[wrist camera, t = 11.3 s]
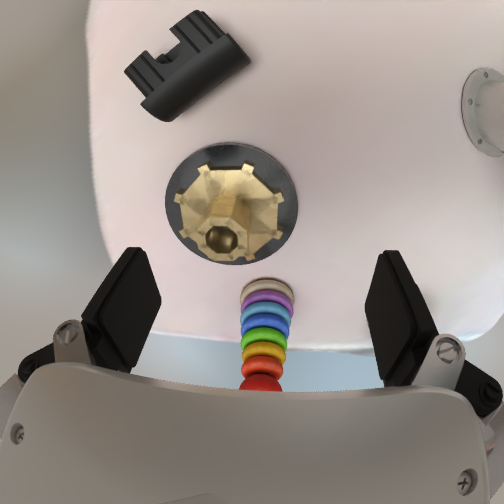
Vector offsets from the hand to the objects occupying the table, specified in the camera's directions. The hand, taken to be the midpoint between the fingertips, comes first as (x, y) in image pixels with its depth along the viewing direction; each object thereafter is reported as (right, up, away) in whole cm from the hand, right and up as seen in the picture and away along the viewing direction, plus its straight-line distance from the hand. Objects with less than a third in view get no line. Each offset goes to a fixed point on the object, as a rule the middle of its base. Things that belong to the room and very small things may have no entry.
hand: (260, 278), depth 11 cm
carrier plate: (-3, +7, +23) cm, 24 cm away
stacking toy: (+2, -6, +31) cm, 31 cm away
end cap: (-6, +21, +13) cm, 25 cm away
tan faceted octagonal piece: (-3, +6, +22) cm, 23 cm away
